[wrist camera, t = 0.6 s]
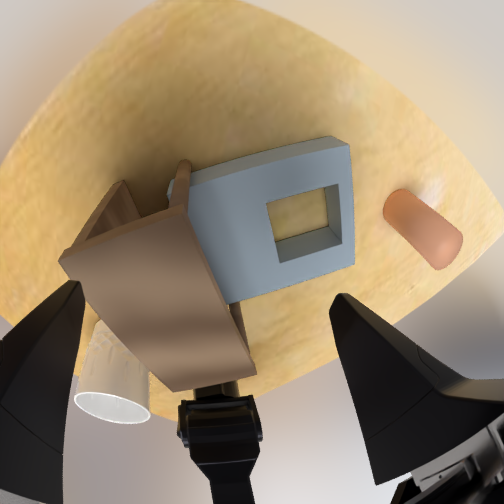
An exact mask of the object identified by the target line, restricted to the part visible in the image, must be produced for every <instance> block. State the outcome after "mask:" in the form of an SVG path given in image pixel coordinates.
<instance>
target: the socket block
mask: <svg viewBox="0 0 504 504" xmlns="http://www.w3.org/2000/svg"><path fill="white" fill-rule="evenodd" d="M174 180H175V179H172V180H171V181H170V184H169V188H168V192H167V197H168V200H169V201H170V197H171V193H172V189H173V184H174ZM323 187H325V195H326V204H327V214H328V225H329V226H328V227H324V228H321V229H318V230H314V231H311V232H308V233H305V234H301V235H298V236H295V237H291V238H288V239H285V240H281V241H278V242H275V240H274V236H273V232H272V228H271V223H270V219H269V215H268V211H267V207H266V203H268V202H272V201H275V200H279V199H282V198H286V197H289V196H293V195H296V194H300V193H304V192H308V191H311V190H315V189H319V188H323ZM188 217H189V219H190V222H191V224H192V227H193V229H194V231H195V234H196V236H197V239H198V241H199V243H200V246H201V248H202V250H203V253H204V255H205V257H206V260H207V262H208V264H209V267H210V269H211V271H212V273H213V276H214V278H215V280H216V283H217V285H218V287H219V289H220V291H221V294H222V296H223V298H224V300H225V303H226V305H228V304H231V303H235V302H238V301H242V300H245V299H248V298H252V297H255V296H259V295H262V294H265V293H268V292H272V291H275V290H278V289H281V288H285V287H288V286H291V285H294V284H297V283H300V282H304V281H307V280H310V279H313V278H316V277H319V276H322V275H325V274H328V273H331V272H334V271H337V270H340V269H343V268H346V267H348V266H351V265H354V264H355V227H354V200H353V183H352V170H351V158H350V148H349V144H347V143H345V142H343V141H341V140H339V139H337V138H335V137H332V136H328V137H323V138H318V139H313V140H309V141H304V142H300V143H295V144H291V145H287V146H282V147H278V148H274V149H270V150H267V151H263V152H259V153H255V154H251V155H248V156H244V157H241V158H237V159H234V160H230V161H227V162H224V163H220V164H217V165H214V166H211V167H208V168H205V169H201V170H198V171H195V172H192V173H191V177H190V188H189V201H188Z"/></svg>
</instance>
